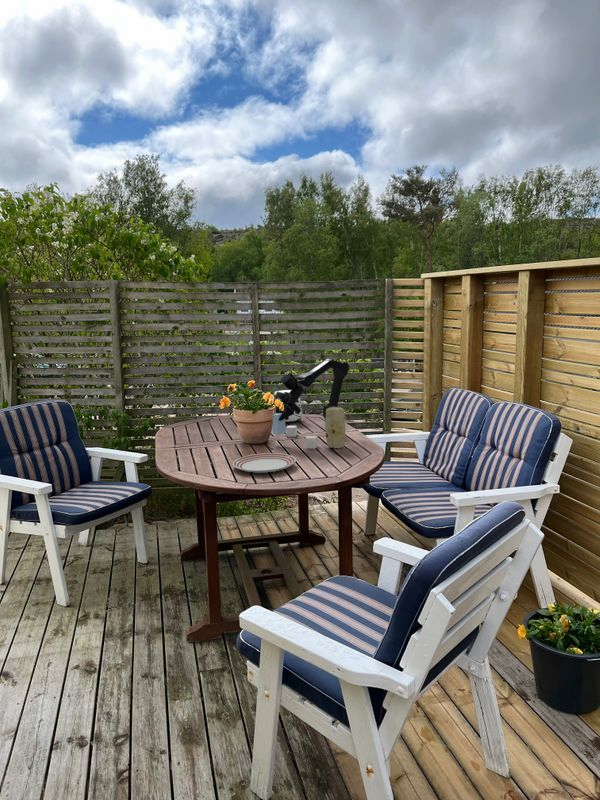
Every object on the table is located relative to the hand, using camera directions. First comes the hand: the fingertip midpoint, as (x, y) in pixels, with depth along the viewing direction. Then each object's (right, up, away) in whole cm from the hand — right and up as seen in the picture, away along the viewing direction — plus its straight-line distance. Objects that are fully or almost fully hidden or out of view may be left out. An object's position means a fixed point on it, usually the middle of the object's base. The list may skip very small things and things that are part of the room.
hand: (276, 419), depth 293 cm
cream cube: (+17, -13, -4) cm, 22 cm away
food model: (+29, -14, -7) cm, 33 cm away
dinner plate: (-4, -20, -38) cm, 43 cm away
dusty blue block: (+1, -7, +2) cm, 7 cm away
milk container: (+5, -3, +60) cm, 60 cm away
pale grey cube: (+7, -9, +22) cm, 25 cm away
